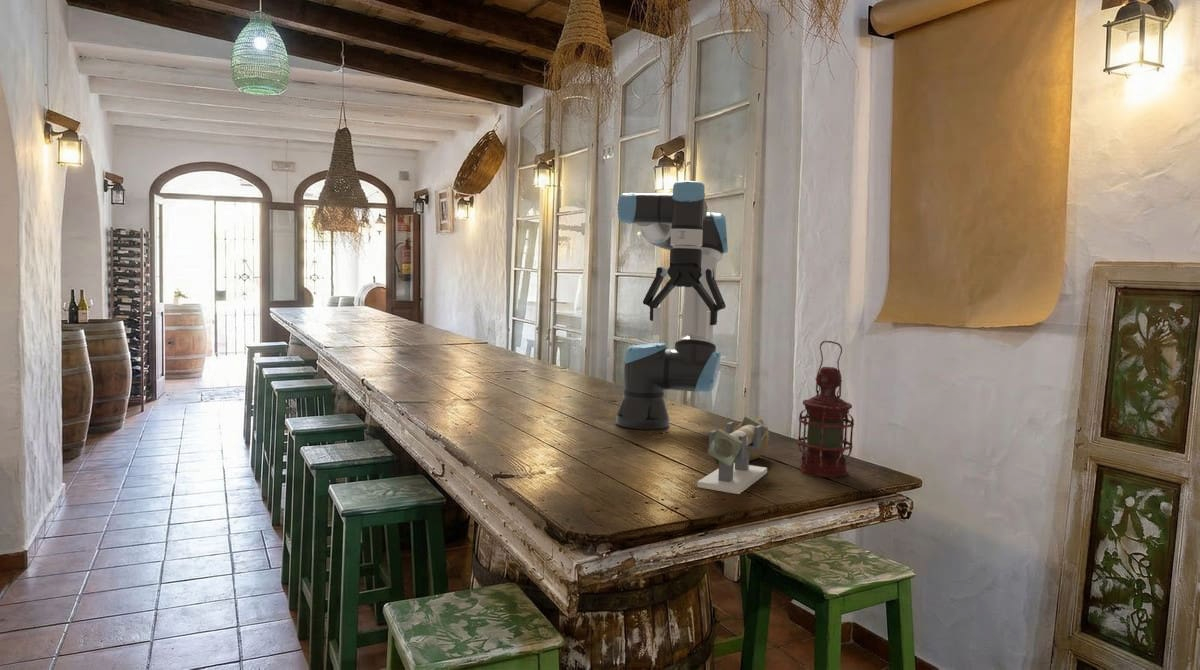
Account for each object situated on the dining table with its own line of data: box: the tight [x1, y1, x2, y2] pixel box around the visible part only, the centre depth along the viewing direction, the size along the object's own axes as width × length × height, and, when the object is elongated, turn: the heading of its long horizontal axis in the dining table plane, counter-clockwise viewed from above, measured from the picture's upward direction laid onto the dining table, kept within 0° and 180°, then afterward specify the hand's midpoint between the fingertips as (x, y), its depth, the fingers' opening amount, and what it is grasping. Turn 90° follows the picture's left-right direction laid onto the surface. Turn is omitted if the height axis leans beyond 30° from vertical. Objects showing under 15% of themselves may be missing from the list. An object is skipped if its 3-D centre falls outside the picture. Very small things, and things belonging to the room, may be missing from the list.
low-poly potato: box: [717, 417, 770, 462], centre depth 192 cm, size 15×11×12 cm
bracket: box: [697, 421, 768, 495], centre depth 172 cm, size 20×9×11 cm, turn 152°
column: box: [707, 415, 769, 466], centre depth 172 cm, size 20×5×5 cm, turn 152°
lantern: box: [797, 340, 855, 479], centre depth 181 cm, size 12×12×30 cm
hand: (682, 336), depth 191 cm, fingers open, 13 cm apart
